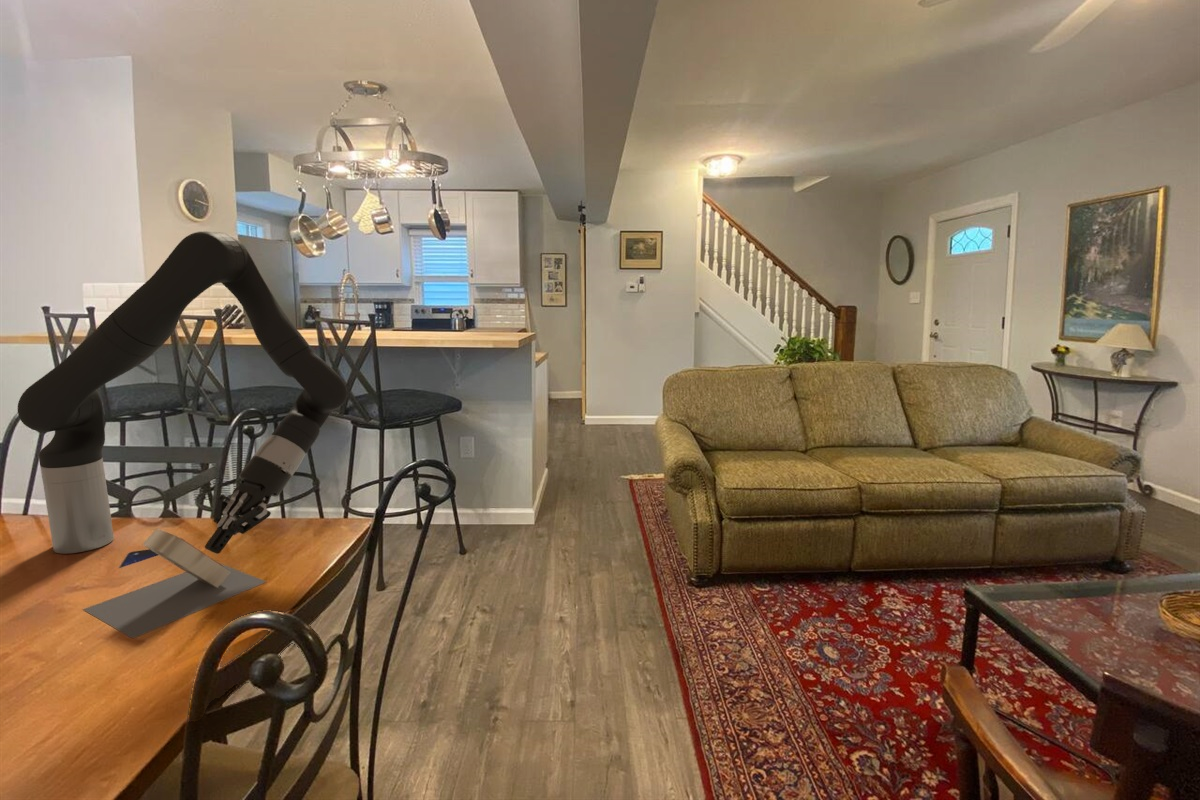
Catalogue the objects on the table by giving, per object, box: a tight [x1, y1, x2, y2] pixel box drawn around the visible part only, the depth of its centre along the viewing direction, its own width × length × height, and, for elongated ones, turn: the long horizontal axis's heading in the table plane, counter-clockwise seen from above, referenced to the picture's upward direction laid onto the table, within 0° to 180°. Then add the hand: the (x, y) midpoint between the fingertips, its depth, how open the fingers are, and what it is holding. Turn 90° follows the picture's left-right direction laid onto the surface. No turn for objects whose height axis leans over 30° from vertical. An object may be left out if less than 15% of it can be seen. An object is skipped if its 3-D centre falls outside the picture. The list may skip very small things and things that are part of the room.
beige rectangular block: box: [141, 528, 230, 588], centre depth 99 cm, size 6×3×12 cm
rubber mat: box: [82, 562, 267, 639], centre depth 99 cm, size 16×20×1 cm
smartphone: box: [118, 548, 159, 569], centre depth 110 cm, size 7×1×15 cm
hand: (211, 551), depth 103 cm, fingers closed
